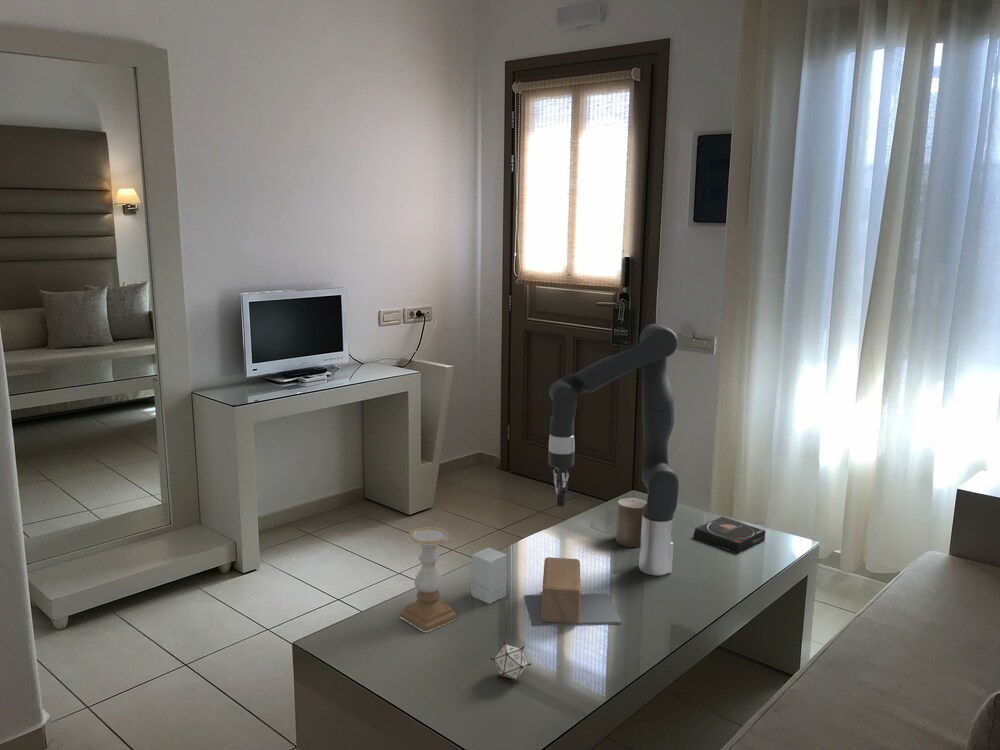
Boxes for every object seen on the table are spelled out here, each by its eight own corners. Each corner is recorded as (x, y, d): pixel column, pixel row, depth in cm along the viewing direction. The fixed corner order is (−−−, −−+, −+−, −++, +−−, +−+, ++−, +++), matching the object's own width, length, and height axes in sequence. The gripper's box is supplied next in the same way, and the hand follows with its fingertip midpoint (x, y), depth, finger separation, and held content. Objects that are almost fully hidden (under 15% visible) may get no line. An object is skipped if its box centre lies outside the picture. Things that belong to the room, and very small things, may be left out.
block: (580, 557, 227) (580, 590, 207) (578, 590, 229) (579, 625, 209) (544, 555, 228) (542, 587, 208) (543, 588, 230) (540, 623, 210)
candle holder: (430, 604, 220) (431, 522, 215) (457, 619, 212) (458, 535, 207) (398, 618, 212) (398, 533, 207) (425, 634, 205) (425, 546, 200)
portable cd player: (719, 526, 281) (720, 516, 280) (764, 542, 269) (765, 530, 268) (693, 538, 270) (693, 527, 269) (738, 555, 258) (739, 543, 257)
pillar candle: (647, 548, 260) (650, 504, 258) (617, 547, 260) (620, 503, 258) (642, 536, 270) (645, 494, 267) (613, 535, 270) (616, 493, 267)
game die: (502, 688, 188) (488, 646, 192) (536, 676, 189) (522, 634, 192) (498, 691, 180) (484, 646, 183) (534, 678, 180) (519, 633, 183)
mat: (607, 595, 228) (608, 593, 228) (621, 623, 212) (621, 621, 212) (524, 596, 225) (524, 595, 225) (531, 625, 210) (531, 623, 210)
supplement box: (507, 596, 226) (508, 554, 223) (488, 605, 220) (489, 562, 218) (488, 587, 231) (489, 546, 228) (470, 596, 225) (470, 554, 223)
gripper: (578, 455, 227) (576, 513, 231) (570, 442, 240) (568, 497, 244) (552, 456, 226) (551, 514, 230) (545, 442, 239) (544, 497, 243)
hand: (560, 505), depth 237 cm, fingers closed
